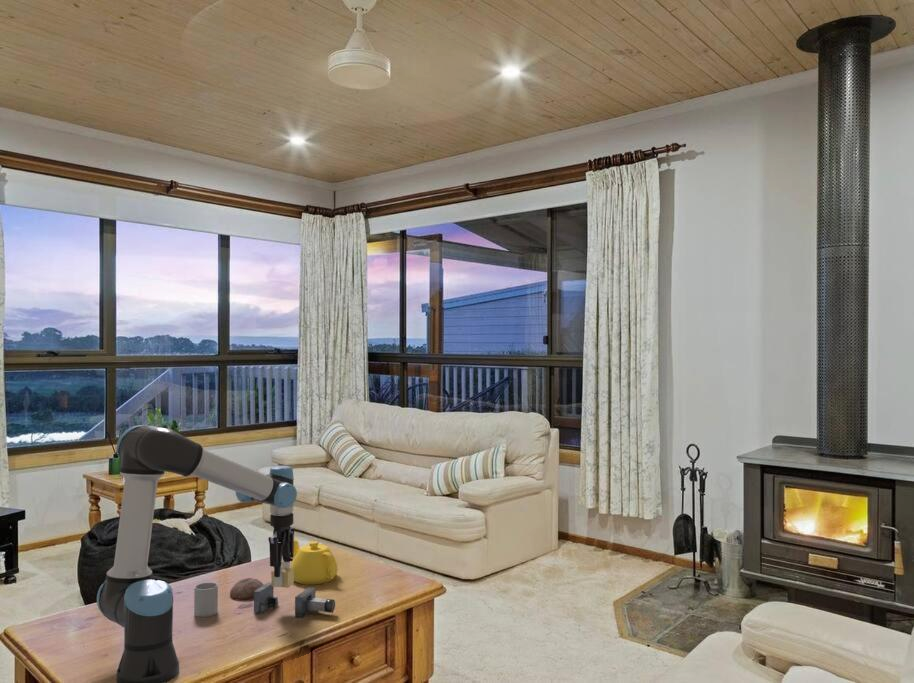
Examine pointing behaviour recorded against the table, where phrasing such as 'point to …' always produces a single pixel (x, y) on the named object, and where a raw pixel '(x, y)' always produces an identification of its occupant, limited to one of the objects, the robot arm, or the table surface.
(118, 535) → the robot arm
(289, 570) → the block
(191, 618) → the table surface
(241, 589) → the decorative stone
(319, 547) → the teapot
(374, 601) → the table surface
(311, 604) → the shaft
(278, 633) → the table surface
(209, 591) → the cup
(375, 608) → the table surface
